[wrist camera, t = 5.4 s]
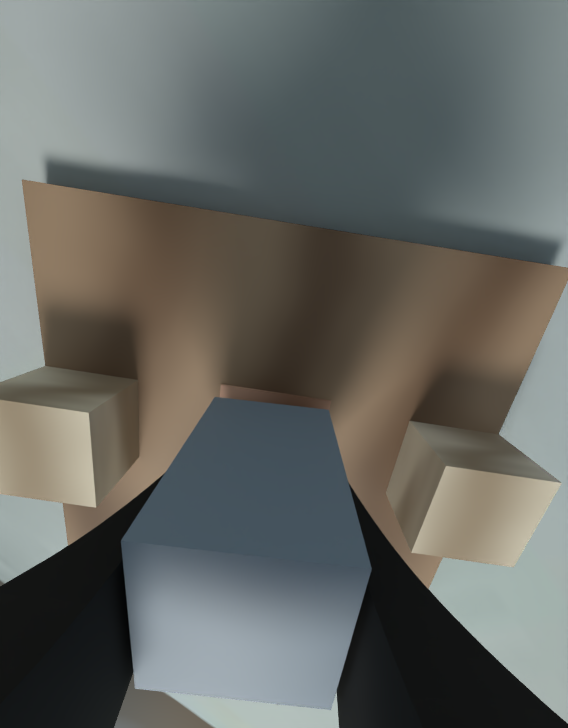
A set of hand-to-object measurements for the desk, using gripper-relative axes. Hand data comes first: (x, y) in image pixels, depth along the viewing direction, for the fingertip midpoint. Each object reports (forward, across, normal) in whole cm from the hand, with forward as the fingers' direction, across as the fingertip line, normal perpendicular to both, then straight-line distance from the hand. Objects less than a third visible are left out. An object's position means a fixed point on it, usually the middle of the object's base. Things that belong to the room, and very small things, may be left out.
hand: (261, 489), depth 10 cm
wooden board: (+4, 0, 0) cm, 4 cm away
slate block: (+2, 0, 0) cm, 2 cm away
